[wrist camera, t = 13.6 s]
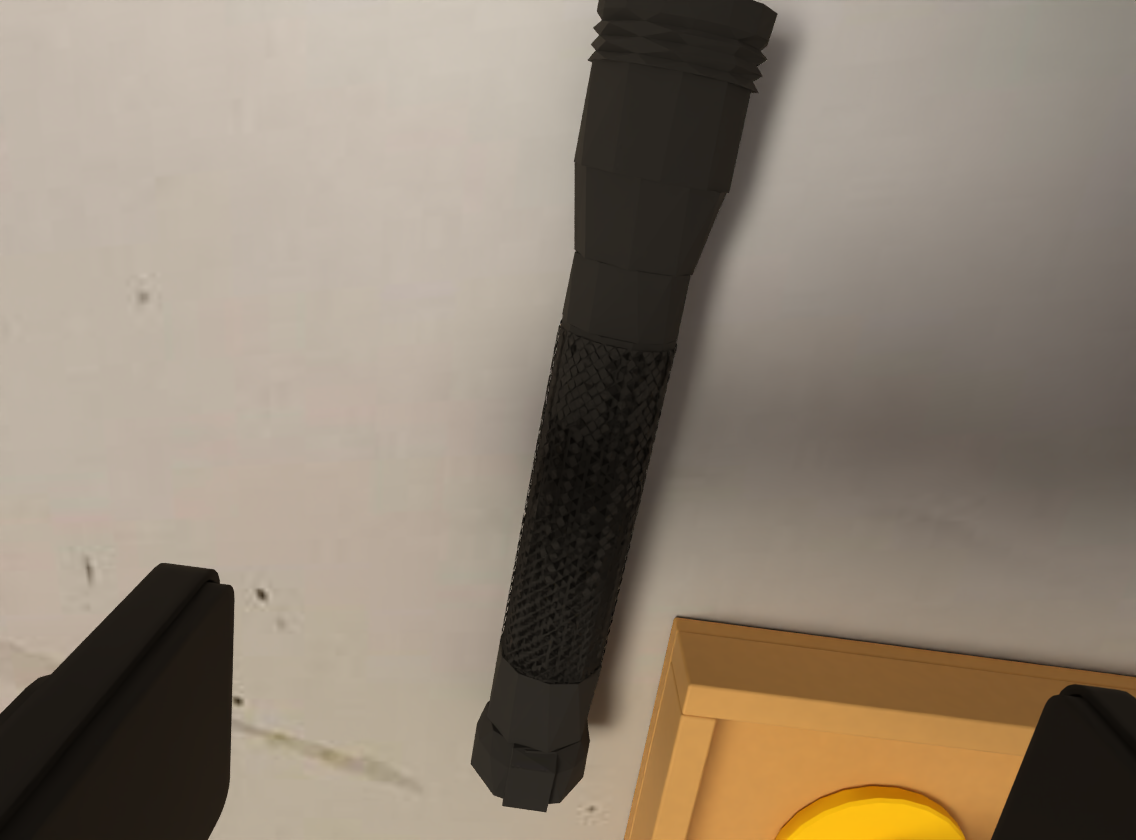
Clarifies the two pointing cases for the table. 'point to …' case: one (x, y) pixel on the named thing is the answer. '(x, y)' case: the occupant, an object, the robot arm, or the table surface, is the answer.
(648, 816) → the light tray
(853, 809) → the candle
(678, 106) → the flashlight
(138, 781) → the robot arm
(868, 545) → the table surface
